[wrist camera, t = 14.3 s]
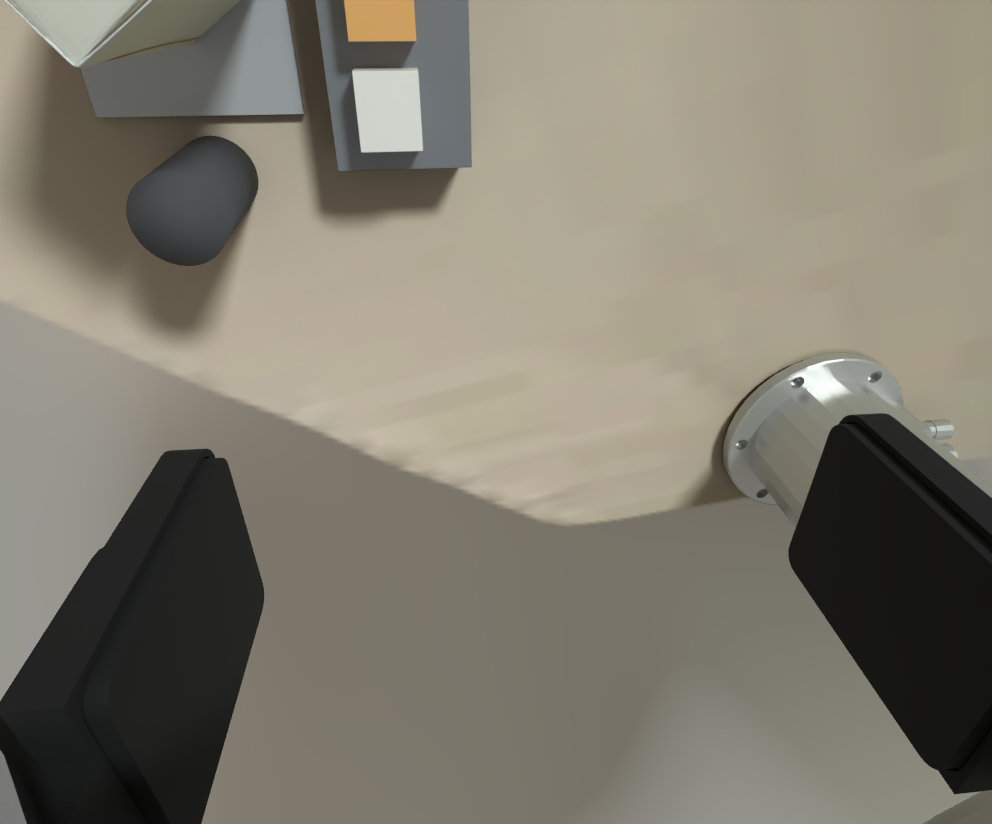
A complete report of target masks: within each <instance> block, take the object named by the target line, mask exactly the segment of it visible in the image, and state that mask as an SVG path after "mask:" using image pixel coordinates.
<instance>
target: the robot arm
mask: <svg viewBox="0 0 992 824" xmlns="http://www.w3.org/2000/svg"><path fill="white" fill-rule="evenodd" d="M903 402H904V400H903V395H902V390H901V387H900V385H899V383H898V381H897V379H896V378H895V377H894V376H893V375H892V374H891V373H890V372H889V371H888V370H887V369H886V368H885V367H883V366H882V365H880V364H879V363H877V362H876V361H874V360H873V359H870V358H868V357H865V356H862V355H859V354H851V353H831V354H824V355H820V356H816V357H812V358H808V359H806V360H803V361H801V362H798V363H796V364H793V365H791V366H789V367H787V368H786V369H784V370H782V371H780V372H779V373H777V374H775V375H774V376H772V377H771V378H770V379H768V380H767V381H766V382H764V383H763V384H762V385H761V386H759V387H758V388H757V389H756V390H755V391H754V392H753V393H752V394H751V395H750V396H749V397H748V398H747V399H746V400H745V402H744V403H743V404H742V406H741V407H740V408H739V410H738V411H737V412H736V414H735V416H734V418H733V420H732V422H731V423H730V425H729V427H728V430H727V433H726V437H725V440H724V447H723V459H724V466H725V469H726V471H727V473H728V475H729V477H730V478H731V480H732V481H733V483H734V484H735V485H736V487H737V488H738V489H739V490H740V491H741V492H742V493H743V494H745V495H746V496H747V497H749V498H751V499H753V500H755V501H758V502H762V503H765V504H770V505H779V507H780V508H781V509H782V511H783V512H784V513H785V515H786V516H787V517H788V519H789V520H790V521H791V522H792V524H793V525H794V526H795V527H796V529H795V532H794V535H793V538H792V541H791V544H790V547H789V561H790V564H791V567H792V569H793V571H794V572H795V574H796V575H797V577H798V578H799V579H800V581H801V582H802V584H803V585H804V587H805V588H806V590H807V591H808V593H809V594H810V595H811V597H812V599H813V600H814V601H815V603H816V604H817V606H818V607H819V609H820V610H821V612H822V613H823V614H824V616H825V618H826V619H827V621H828V622H829V623H830V625H831V626H832V628H833V629H834V631H835V632H836V634H837V635H838V637H839V638H840V640H841V641H842V643H843V644H844V645H845V647H846V648H847V650H848V651H849V653H850V654H851V656H852V657H853V659H854V660H855V662H856V663H857V665H858V666H859V667H860V669H861V670H862V672H863V673H864V675H865V676H866V678H867V679H868V681H869V682H870V684H871V685H872V687H873V688H874V689H875V691H876V692H877V694H878V695H879V697H880V698H881V700H882V701H883V703H884V704H885V705H886V707H887V709H888V710H889V711H890V713H891V714H892V716H893V717H894V719H895V720H896V722H897V723H898V725H899V726H900V728H901V729H902V730H903V732H904V733H905V735H906V736H907V738H908V739H909V741H910V742H911V744H912V745H913V747H914V748H915V749H916V751H917V752H918V754H919V755H920V757H921V758H922V759H923V760H924V761H925V763H927V764H928V765H929V766H930V767H932V768H934V769H936V770H938V771H939V772H940V774H941V775H942V777H943V778H944V779H945V781H946V782H947V784H948V785H949V787H950V788H951V789H952V791H953V793H954V794H960V793H969V792H978V791H981V792H979V793H977V794H976V795H974V796H972V797H970V798H968V799H966V800H964V801H962V802H961V803H959V804H957V805H955V806H953V807H951V808H949V809H947V810H946V811H944V812H942V813H940V814H938V815H936V816H934V817H933V818H932V819H931V820H929V821H927V822H925V823H923V824H992V485H990V484H989V483H988V482H986V481H985V480H984V479H983V478H981V477H980V476H979V475H978V474H977V473H975V472H974V471H973V470H972V469H970V468H969V467H968V466H967V465H965V464H964V463H963V462H962V461H960V460H959V459H958V456H957V452H956V450H955V449H954V448H953V447H952V446H951V445H949V444H947V443H946V444H939V443H938V442H937V441H935V440H941V439H949V438H951V437H952V435H953V433H954V428H953V424H952V423H951V422H950V421H949V420H946V419H940V420H929V421H925V422H921V421H920V420H919V419H918V418H916V417H915V416H914V415H912V414H911V413H910V412H909V411H907V410H906V409H905V408H904V407H903ZM263 603H264V588H263V583H262V579H261V576H260V573H259V569H258V566H257V562H256V559H255V555H254V552H253V548H252V545H251V541H250V538H249V534H248V531H247V528H246V524H245V521H244V517H243V514H242V510H241V507H240V503H239V500H238V497H237V493H236V490H235V486H234V483H233V479H232V476H231V472H230V469H229V466H228V463H227V461H226V460H225V459H224V458H215V456H214V454H213V453H212V451H211V450H209V449H194V450H173V451H167V452H165V453H164V454H163V455H162V456H161V457H160V459H159V461H158V462H157V464H156V465H155V467H154V468H153V470H152V472H151V473H150V475H149V476H148V478H147V480H146V481H145V483H144V484H143V486H142V488H141V489H140V491H139V492H138V494H137V495H136V497H135V499H134V500H133V502H132V503H131V505H130V507H129V508H128V510H127V511H126V513H125V515H124V516H123V518H122V519H121V521H120V522H119V524H118V526H117V527H116V529H115V530H114V532H113V533H112V535H111V537H110V539H109V540H108V542H107V543H106V545H105V546H104V547H103V548H102V549H100V550H99V551H98V552H97V553H96V554H95V555H94V557H93V558H92V559H91V560H90V562H89V563H88V565H87V567H86V568H85V570H84V571H83V573H82V574H81V576H80V578H79V579H78V581H77V582H76V584H75V585H74V587H73V588H72V590H71V592H70V593H69V595H68V596H67V598H66V599H65V601H64V603H63V604H62V606H61V607H60V609H59V610H58V612H57V613H56V615H55V617H54V618H53V620H52V621H51V623H50V625H49V626H48V628H47V629H46V631H45V632H44V634H43V635H42V637H41V639H40V640H39V642H38V643H37V645H36V647H35V648H34V649H33V651H32V653H31V654H30V656H29V657H28V659H27V660H26V662H25V663H24V665H23V667H22V668H21V670H20V671H19V673H18V675H17V676H16V678H15V679H14V681H13V682H12V684H11V685H10V687H9V689H8V690H7V692H6V693H5V695H4V696H3V698H2V700H1V701H0V824H201V822H202V818H203V815H204V812H205V808H206V805H207V801H208V798H209V794H210V791H211V787H212V784H213V780H214V777H215V773H216V770H217V766H218V763H219V759H220V755H221V752H222V749H223V745H224V742H225V738H226V735H227V731H228V728H229V724H230V721H231V717H232V714H233V710H234V707H235V703H236V700H237V696H238V693H239V689H240V686H241V683H242V679H243V676H244V672H245V669H246V665H247V662H248V658H249V655H250V651H251V648H252V644H253V640H254V637H255V634H256V630H257V627H258V623H259V620H260V616H261V613H262V609H263Z"/></svg>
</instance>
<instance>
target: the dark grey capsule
mask: <svg viewBox="0 0 992 824" xmlns="http://www.w3.org/2000/svg"><path fill="white" fill-rule="evenodd" d="M257 190H258V176H257V172H256V169H255V166H254V164H253V162H252V161H251V159H250V157H249V156H248V155H247V154H246V153H245V152H244V151H243V150H242V149H241V148H240V147H239V146H238V145H236V144H235V143H233V142H231V141H229V140H227V139H224V138H221V137H216V136H204V137H199V138H196V139H194V140H192V141H191V142H190V143H188V144H187V145H186V146H184V147H183V148H182V149H181V150H179V151H178V152H177V153H175V154H174V155H173V156H172V157H170V158H169V159H168V160H166V161H165V162H164V163H163V164H161V165H160V166H159V167H157V168H156V169H155V170H154V171H152V172H151V173H150V174H148V175H147V176H146V177H145V178H143V179H142V180H141V181H139V182H138V183H137V184H136V185H135V186H134V187H133V189H132V190H131V192H130V194H129V196H128V200H127V207H126V210H127V218H128V222H129V225H130V227H131V229H132V231H133V233H134V235H135V236H136V238H137V239H138V240H139V242H140V243H141V244H142V245H143V246H144V247H145V248H146V249H147V250H148V251H150V252H151V253H152V254H154V255H155V256H157V257H159V258H160V259H162V260H165V261H167V262H170V263H173V264H177V265H184V266H194V265H200V264H203V263H206V262H208V261H210V260H212V259H213V258H214V257H216V256H217V255H218V254H219V253H220V251H221V250H222V248H223V247H224V245H225V244H226V242H227V241H228V239H229V238H230V236H231V234H232V233H233V231H234V230H235V228H236V227H237V225H238V223H239V222H240V220H241V219H242V217H243V216H244V214H245V212H246V211H247V209H248V208H249V206H250V205H251V203H252V201H253V200H254V198H255V196H256V193H257Z"/></svg>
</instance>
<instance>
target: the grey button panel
mask: <svg viewBox="0 0 992 824" xmlns="http://www.w3.org/2000/svg"><path fill="white" fill-rule="evenodd" d="M315 3H316V10H317V17H318V25H319V32H320V39H321V47H322V54H323V62H324V69H325V76H326V84H327V91H328V99H329V106H330V113H331V121H332V128H333V135H334V143H335V150H336V158H337V165H338V171H354V170H390V169H426V168H462V167H472V160H471V110H470V60H469V10H468V0H315ZM80 70H81V73H82V76H83V79H84V82H85V85H86V88H87V91H88V94H89V97H90V100H91V103H92V106H93V109H94V112H95V115H96V118H103V117H160V116H217V115H274V114H304V113H305V112H304V105H303V99H302V92H301V86H300V80H299V73H298V67H297V61H296V54H295V48H294V41H293V35H292V29H291V22H290V16H289V9H288V3H287V0H240V1H239V2H238V3H237V4H236V5H235V6H234V7H233V8H232V9H231V10H230V11H228V12H227V13H226V14H225V15H224V16H223V17H222V18H221V19H220V20H219V21H218V22H217V23H215V24H214V25H213V26H212V27H211V28H210V29H209V30H207V31H206V32H205V33H204V34H203V35H202V36H200V37H199V38H198V39H197V40H196V41H195V42H194V43H193V44H191V45H186V46H181V47H176V48H170V49H165V50H161V51H156V52H151V53H146V54H141V55H137V56H132V57H127V58H123V59H117V60H112V61H108V62H102V63H98V64H94V65H89V66H85V67H80Z"/></svg>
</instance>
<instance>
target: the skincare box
mask: <svg viewBox="0 0 992 824" xmlns="http://www.w3.org/2000/svg"><path fill="white" fill-rule="evenodd" d="M5 1H6V2H7V3H8V4H9V5H10V6H11V8H12V9H14V10H15V11H16V12H17V13H18V14H19V15H20V16H21V17H22V18H23V19H24V20H25V21H26V22H27V23H28V24H29V25H30V26H31V27H32V28H33V29H34V30H35V31H36V32H37V33H38V34H39V35H41V36H42V37H43V38H44V39H45V40H46V41H47V43H48V44H49V45H51V46H52V47H53V48H54V49H55V50H56V51H57V52H58V53H59V54H60V55H61V56H63V57H64V58H65V59H66V60H67V61H68V62H69V63H70V64H71V65H72V66H74V67H76V68H80V67H85V66H89V65H94V64H98V63H102V62H108V61H112V60H117V59H123V58H127V57H132V56H137V55H141V54H146V53H151V52H156V51H161V50H165V49H170V48H176V47H181V46H186V45H191V44H193V43H194V42H195V41H196V40H197V39H198V38H199V37H200V36H202V35H203V34H204V33H205V32H206V31H207V30H209V29H210V28H211V27H212V26H213V25H214V24H215V23H217V22H218V21H219V20H220V19H221V18H222V17H223V16H224V15H225V14H226V13H227V12H228V11H230V10H231V9H232V8H233V7H234V6H235V5H236V4H237V3H238V2H239V1H240V0H5Z"/></svg>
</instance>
